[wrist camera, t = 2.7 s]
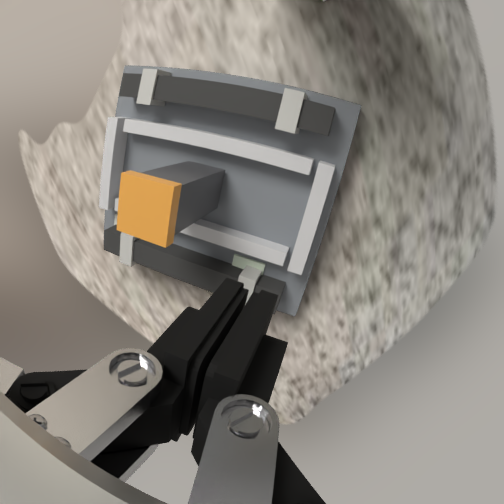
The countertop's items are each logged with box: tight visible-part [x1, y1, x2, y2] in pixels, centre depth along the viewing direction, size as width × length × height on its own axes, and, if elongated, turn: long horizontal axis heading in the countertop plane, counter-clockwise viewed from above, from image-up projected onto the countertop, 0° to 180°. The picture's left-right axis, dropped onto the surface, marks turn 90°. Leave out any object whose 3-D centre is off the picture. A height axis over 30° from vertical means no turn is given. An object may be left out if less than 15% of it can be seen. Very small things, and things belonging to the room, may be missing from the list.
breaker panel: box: [99, 65, 361, 316], centre depth 22 cm, size 16×18×3 cm
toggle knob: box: [117, 161, 225, 248], centre depth 19 cm, size 3×3×8 cm
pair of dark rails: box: [104, 68, 336, 314], centre depth 22 cm, size 15×15×2 cm
